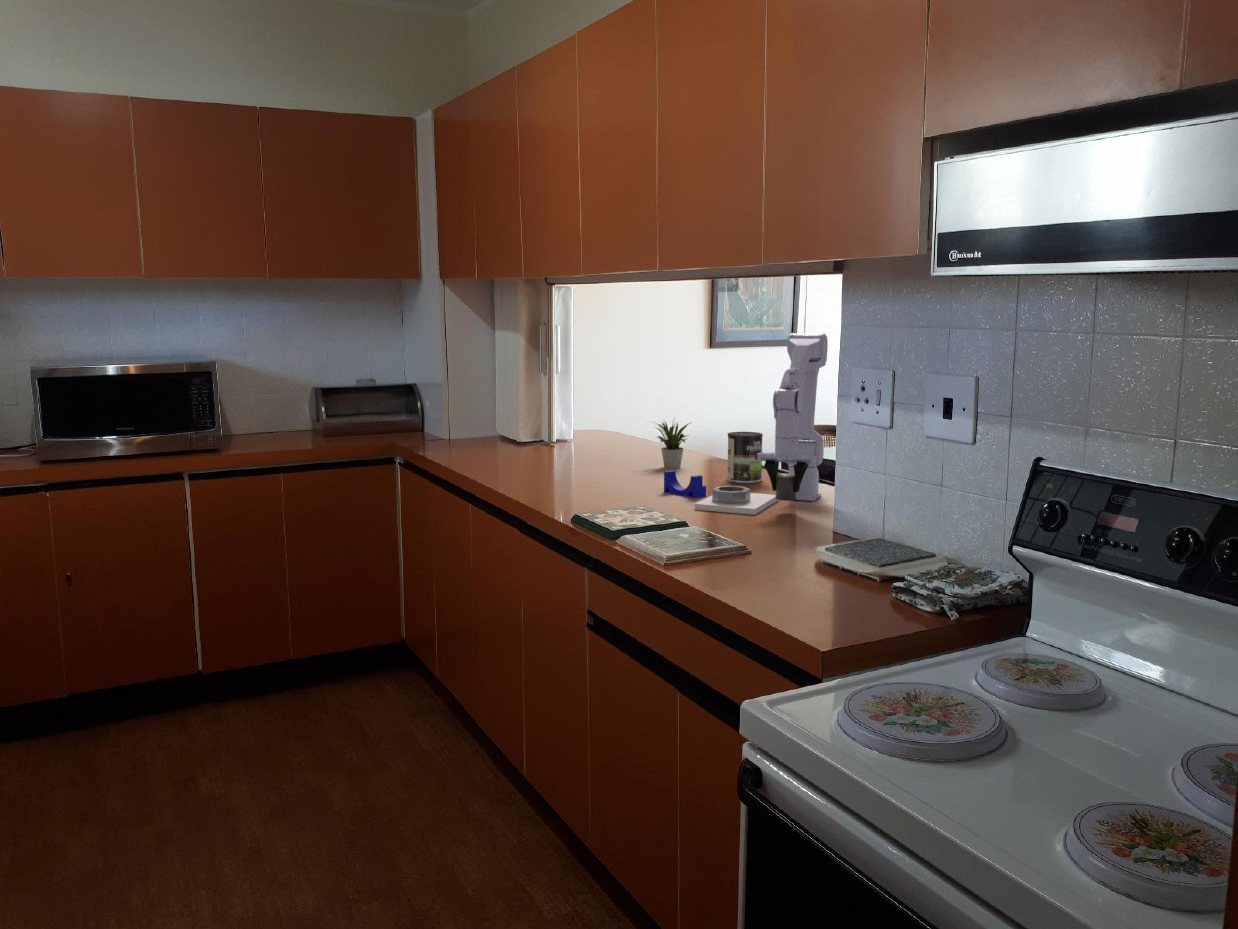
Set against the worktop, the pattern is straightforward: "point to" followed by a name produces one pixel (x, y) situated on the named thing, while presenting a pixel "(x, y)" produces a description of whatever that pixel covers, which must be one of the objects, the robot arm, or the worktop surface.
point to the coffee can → (744, 457)
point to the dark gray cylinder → (785, 487)
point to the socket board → (738, 508)
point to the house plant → (672, 445)
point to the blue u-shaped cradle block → (673, 487)
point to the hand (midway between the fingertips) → (785, 491)
